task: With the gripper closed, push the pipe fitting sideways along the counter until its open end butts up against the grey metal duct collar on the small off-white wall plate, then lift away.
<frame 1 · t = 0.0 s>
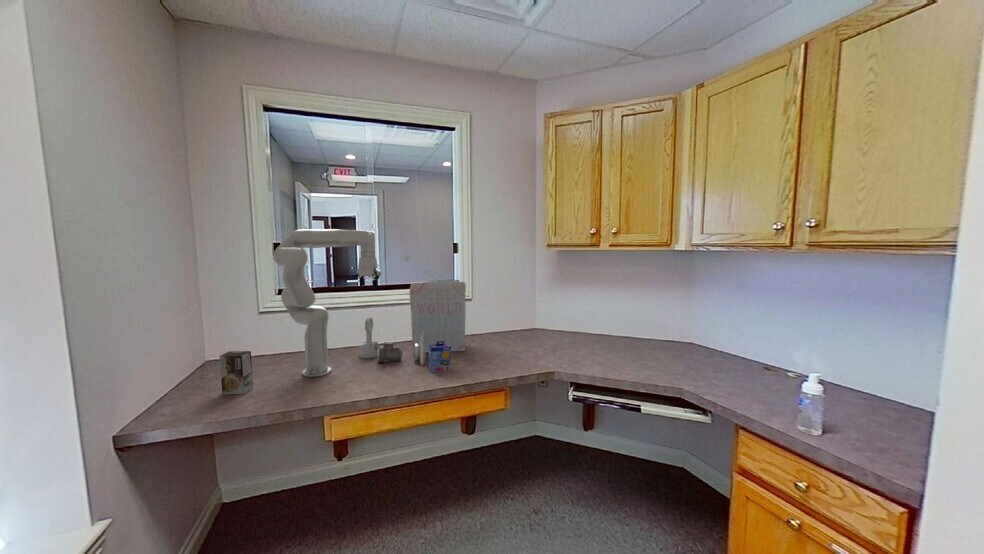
hand: (368, 286, 206), 37 cm above the worktop, fingers open, 9 cm apart
coffee box: (237, 392, 158), on the worktop
pipe fitting: (390, 361, 198), on the worktop
grey shopping bag: (437, 348, 224), on the worktop
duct: (419, 360, 200), on the worktop
ink cartridge box: (439, 370, 186), on the worktop
electric toothbrush: (369, 355, 209), on the worktop
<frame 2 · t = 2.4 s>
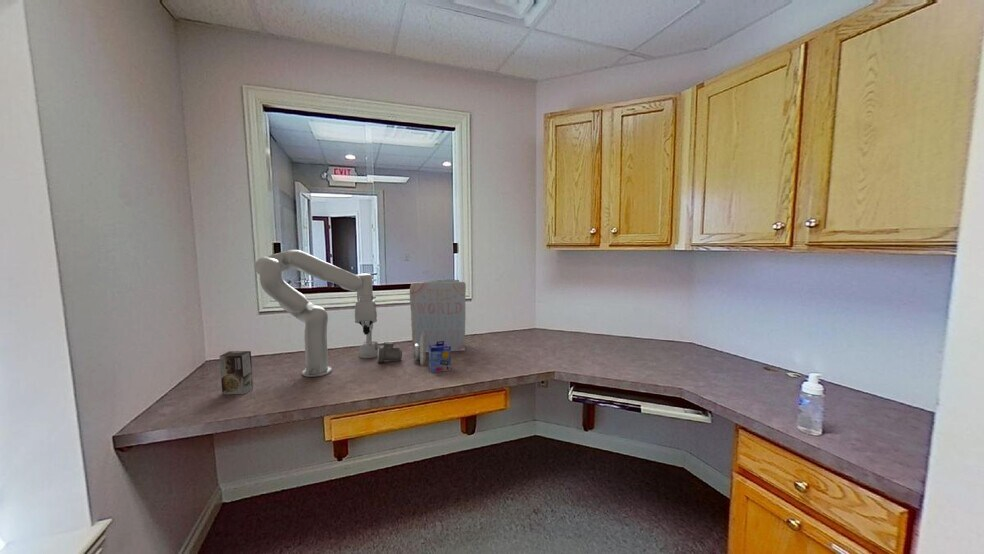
hand: (366, 333, 196), 14 cm above the worktop, fingers closed
nothing on the worktop moved.
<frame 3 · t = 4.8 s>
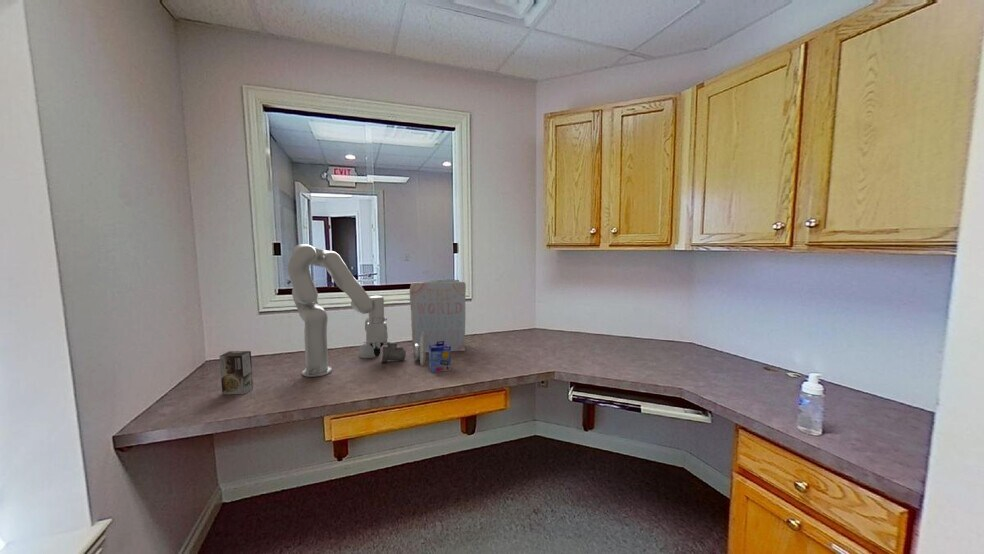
hand: (377, 355, 197), 3 cm above the worktop, fingers closed
pipe fitting: (393, 361, 198), on the worktop, touching gripper
everything else where it was.
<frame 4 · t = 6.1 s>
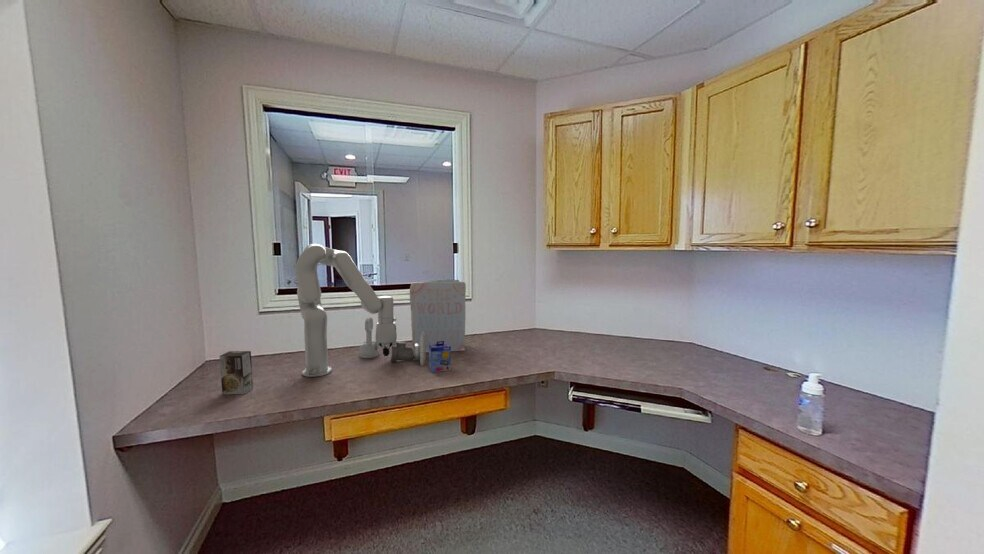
hand: (386, 355, 198), 3 cm above the worktop, fingers closed
pipe fitting: (402, 361, 199), on the worktop, touching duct, gripper
everything else where it was.
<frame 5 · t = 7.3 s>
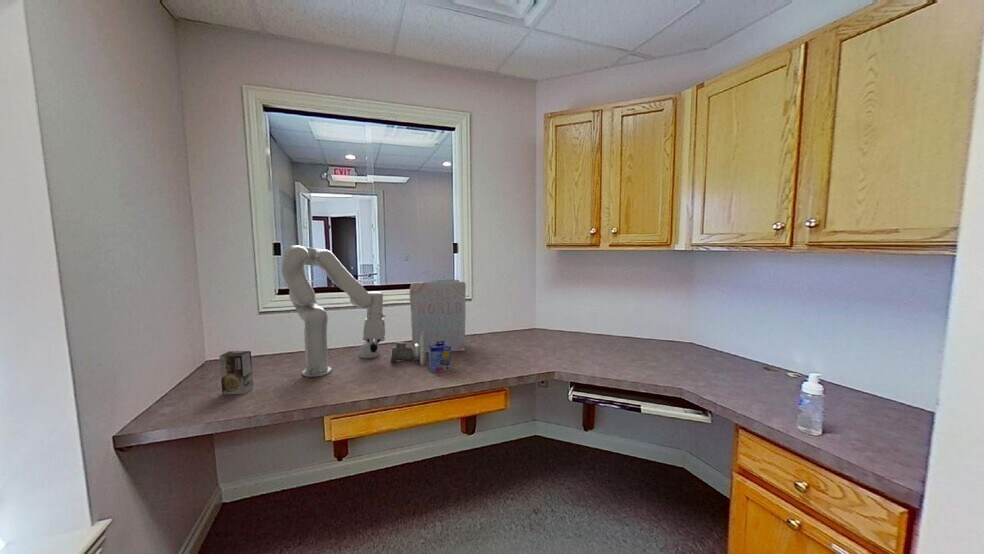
hand: (373, 351, 196), 5 cm above the worktop, fingers closed
pipe fitting: (402, 361, 199), on the worktop
everything else where it was.
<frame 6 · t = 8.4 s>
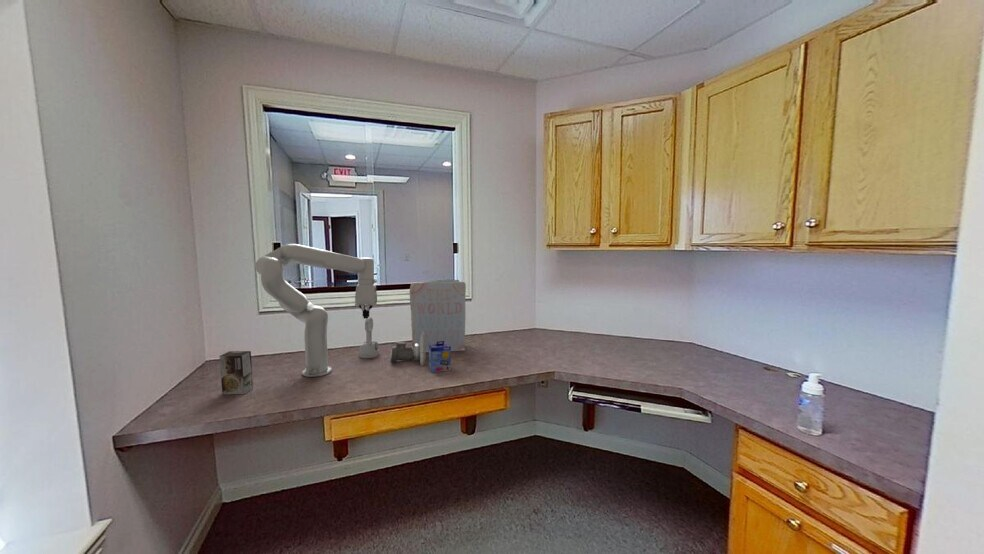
hand: (365, 318, 196), 23 cm above the worktop, fingers closed
nothing on the worktop moved.
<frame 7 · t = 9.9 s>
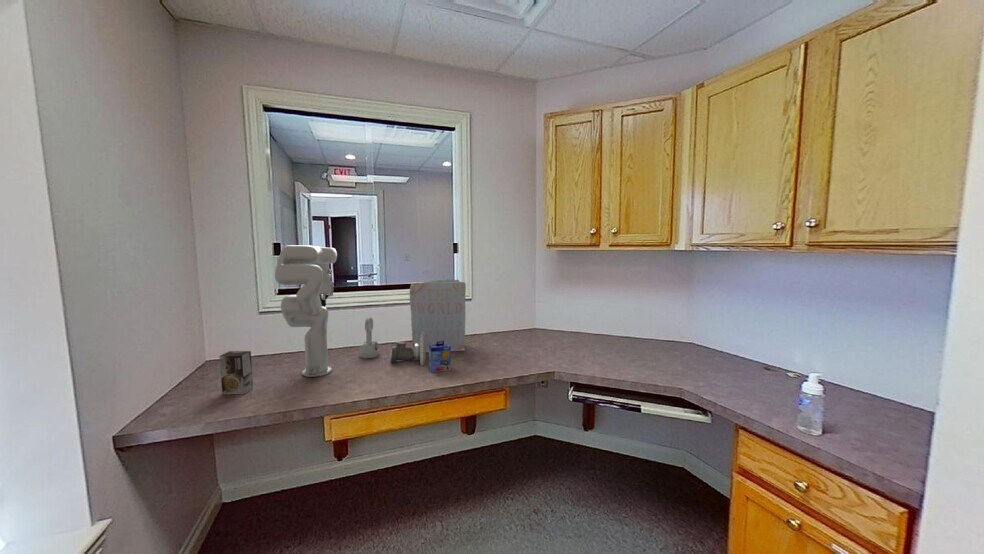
hand: (322, 307, 200), 27 cm above the worktop, fingers closed
nothing on the worktop moved.
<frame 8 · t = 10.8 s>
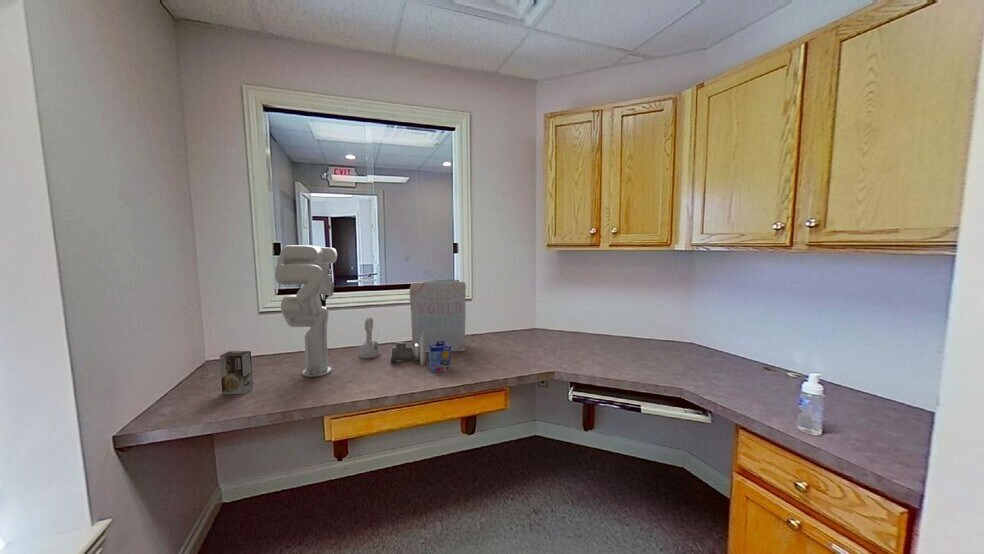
hand: (322, 307, 200), 27 cm above the worktop, fingers closed
nothing on the worktop moved.
at the end: pipe fitting inside the target area (0.7 cm from its centre), on the worktop; pipe fitting tilted 0°; pipe fitting moved 6.4 cm from its start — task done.
